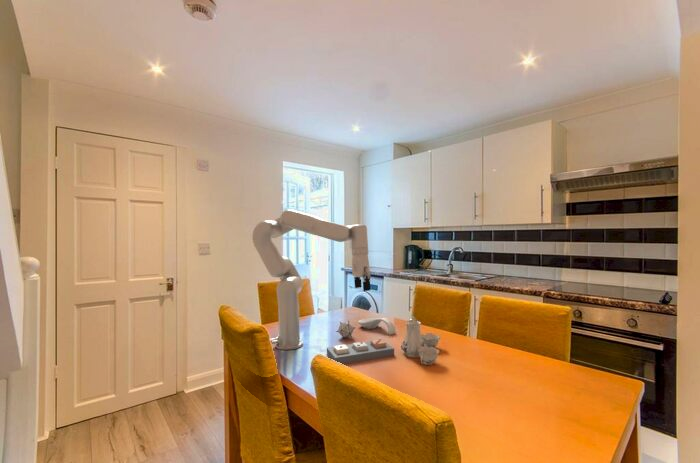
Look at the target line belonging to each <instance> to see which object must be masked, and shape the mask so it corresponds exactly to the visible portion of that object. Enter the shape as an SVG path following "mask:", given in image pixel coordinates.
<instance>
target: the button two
mask: <svg viewBox="0 0 700 463" xmlns="http://www.w3.org/2000/svg"><path fill="white" fill-rule="evenodd" d="M352 344H353V349H354V350H355V351H362V350H368V345H367V344H366V343H364V341H360V342H359V341H358V342H352Z"/></svg>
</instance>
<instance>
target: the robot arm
mask: <svg viewBox="0 0 700 463" xmlns="http://www.w3.org/2000/svg"><path fill="white" fill-rule="evenodd" d="M293 230H296V231H300V232H304V233H306V234H309V235H310V234H311V235H312V236H316V237H317V236H318V237H321V238H324V239H328V240H331V241H334V242H338V243H344V242H348V241H350V244H351V255H352V258H351V269H352V272H351V274H352V276H353V280H354V289H359V288H362V289H363V291H364V292H368V291H371V275H372V274H371V273H372V272H371V271H370V262H369V240H368V228H367V225H366V224H352V225H344V224H343V225H342V224H339V223H336V222H332V221H328V220H325V219H322V218H320V217H318V216H315V215H312V214H309V213H306V212H302V211H297V210H295V209H290V208H289V209H288V208H287V209H284V210H283V211H282V213H281V215H280V217H278V218H276V219H273V220H266V219H265V220H262V221H260V222H258V223H257V224H256V225H255V227H254V228H253V231H252V235H251V236H252V243H253V246H254V248H255V249H256V251H257V253H258V255H259V258H261V261H262V262H263V264H264V266H265V268H266V270H267V273H268V274H269V275H270V276H271V277H272V278H275V279H276V278H279V280H280V281H278V284H277V285H276V296H277V297H276V298H277V306H278V307H277V308H278V309H277V311H278V312H277V313H278V335H277V336H276V337H273V338H269V339H270V340H271V343H270V344H272V345H273V344H275V348H276V349H278V350H280V351H281V350H283V351H290V350H296V349H299V348H301V347H303V345H304V341H303V339H301V338H300V336H301V335H300V334H301V332H300V303H299V301H300V300H299V296H298V294H299V293H300V292H301V291H302V289H303V287H304V282H303V279H302V277H301V276H300V274H299V272H298V270H297V269H296V266H295V265H294V263H293V261H292V260H291V259H290V258H289V257H287V256H284V255H281V253H280V252H279V249H278V247H277V246H276V245H275V243H274V242H273V240H272V239H277V238H279V237H281V236H283V235H285V234H287V233H289V232H291V231H293Z"/></svg>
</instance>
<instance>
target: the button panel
mask: <svg viewBox="0 0 700 463" xmlns="http://www.w3.org/2000/svg"><path fill="white" fill-rule="evenodd" d="M371 341H372V340H370V341H365V342H364V341H363V342H364V343H366V344H367V345H368V350H362V351H355V350H354V349H353V343H349V344H345V345H346V346H347V347H348V348H349V353H343V354H336V353H335V352H334V346H331V347H330V346H329V347H326V355H327V357H328V358H329V359H330V358H331V359H333V360H335V361H337V362H340V363H342V364H341V365H347V364H351V363H357V362H358V363H359V362H364V361H370V360H376V359H382V358H388V357H393V356H395V347H393V346H391V344H388V343H387V342H386V347H382V348H374V347H373V346H371ZM331 359H330V360H331Z"/></svg>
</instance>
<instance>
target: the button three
mask: <svg viewBox="0 0 700 463" xmlns="http://www.w3.org/2000/svg"><path fill="white" fill-rule="evenodd" d="M370 341H371V346H373V347H374V348H382V347H386V343H387V342H386V341H385V340H383V339H382V338H381V339H380V338H379V339H373V340H370Z"/></svg>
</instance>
